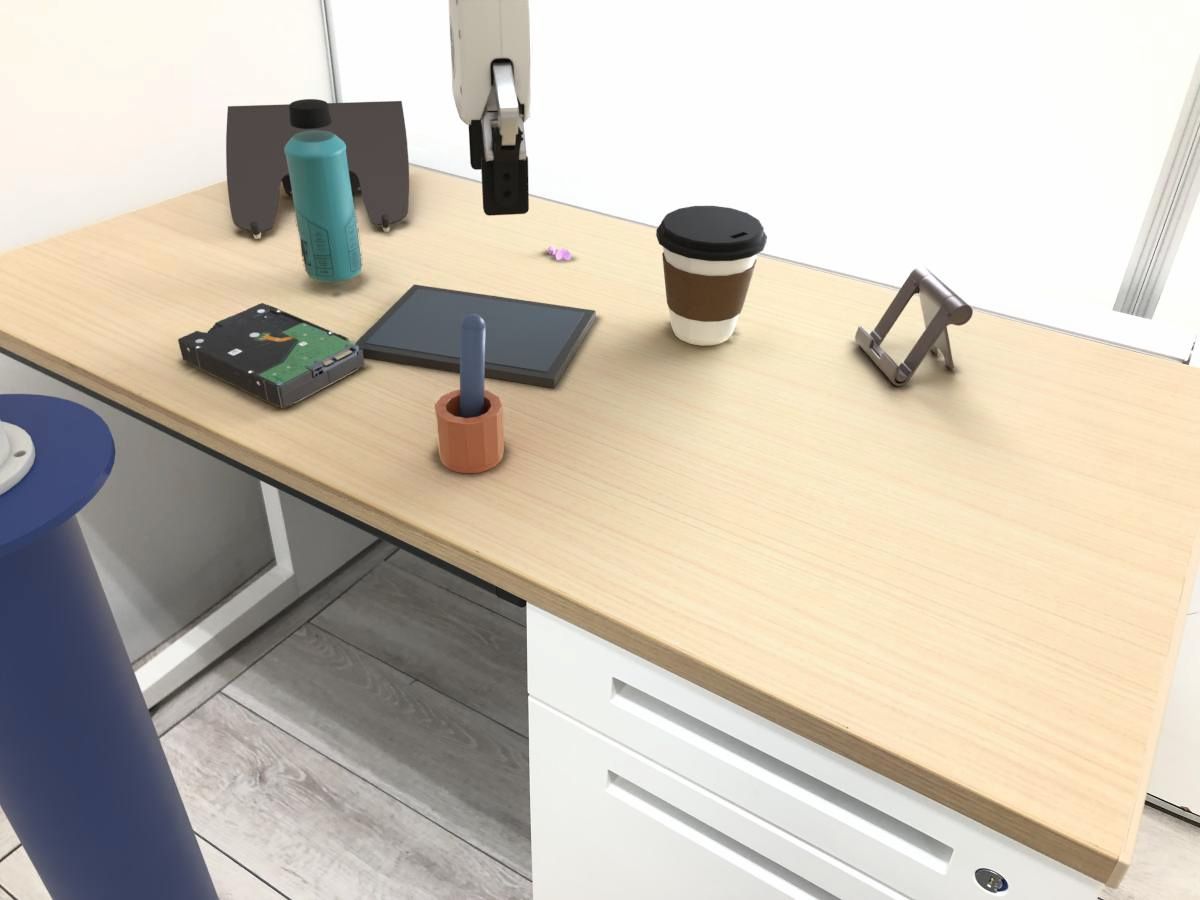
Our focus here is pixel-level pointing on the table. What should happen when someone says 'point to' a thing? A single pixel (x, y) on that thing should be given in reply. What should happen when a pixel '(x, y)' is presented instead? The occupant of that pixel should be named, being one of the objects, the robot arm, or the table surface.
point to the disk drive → (272, 354)
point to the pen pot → (469, 434)
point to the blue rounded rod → (472, 366)
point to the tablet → (512, 334)
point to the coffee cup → (708, 269)
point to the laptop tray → (360, 125)
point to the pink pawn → (559, 253)
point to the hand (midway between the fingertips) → (498, 189)
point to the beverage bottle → (322, 195)
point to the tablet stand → (937, 314)
